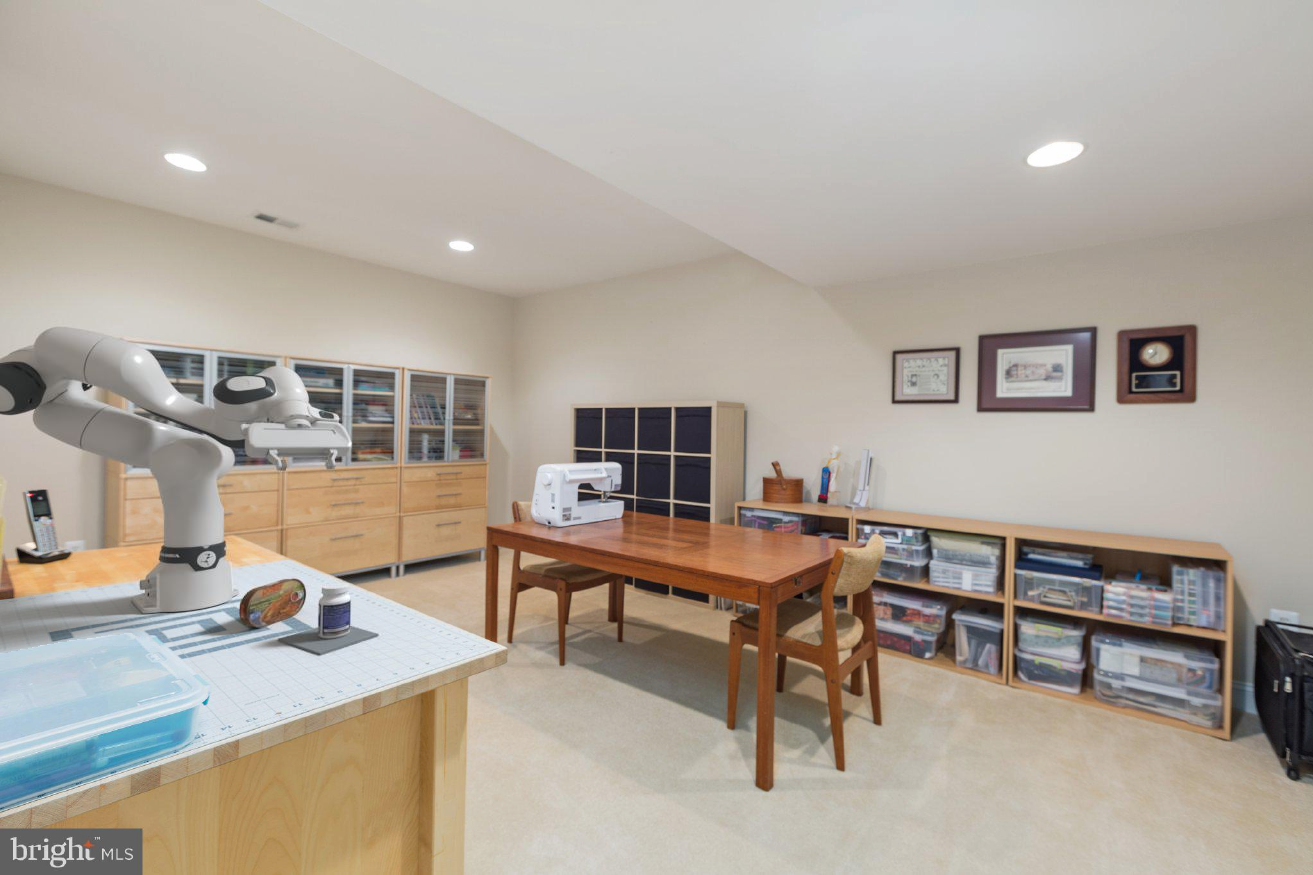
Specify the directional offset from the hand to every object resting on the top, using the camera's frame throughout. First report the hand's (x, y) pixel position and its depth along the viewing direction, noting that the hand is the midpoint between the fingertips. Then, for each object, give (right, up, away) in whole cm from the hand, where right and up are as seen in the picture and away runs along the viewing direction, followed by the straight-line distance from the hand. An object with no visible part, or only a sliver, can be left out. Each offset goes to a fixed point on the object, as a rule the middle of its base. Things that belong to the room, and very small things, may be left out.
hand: (307, 468), depth 124 cm
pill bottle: (+10, -33, -8) cm, 36 cm away
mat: (+10, -34, -9) cm, 36 cm away
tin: (-8, -34, +1) cm, 34 cm away
